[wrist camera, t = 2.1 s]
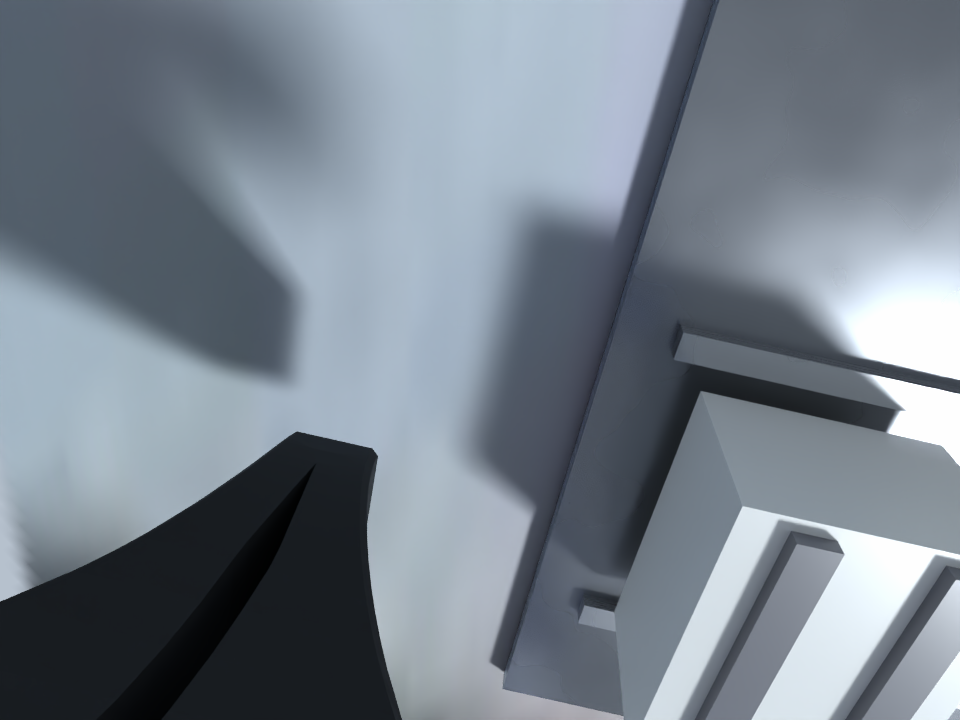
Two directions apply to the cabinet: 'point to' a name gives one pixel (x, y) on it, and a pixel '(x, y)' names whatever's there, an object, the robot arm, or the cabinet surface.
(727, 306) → the label board
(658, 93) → the cabinet surface
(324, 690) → the robot arm
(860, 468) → the white grey striped block
